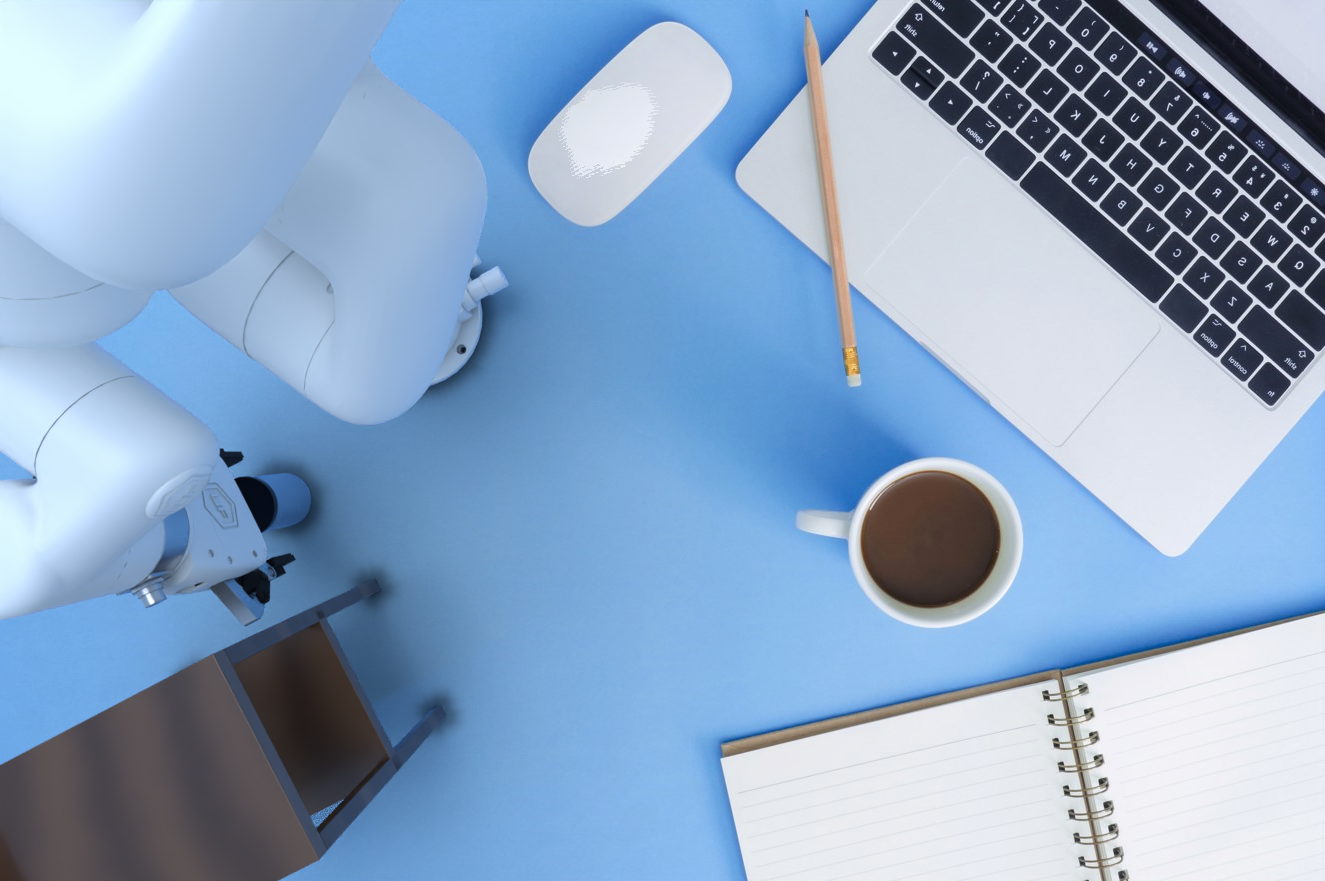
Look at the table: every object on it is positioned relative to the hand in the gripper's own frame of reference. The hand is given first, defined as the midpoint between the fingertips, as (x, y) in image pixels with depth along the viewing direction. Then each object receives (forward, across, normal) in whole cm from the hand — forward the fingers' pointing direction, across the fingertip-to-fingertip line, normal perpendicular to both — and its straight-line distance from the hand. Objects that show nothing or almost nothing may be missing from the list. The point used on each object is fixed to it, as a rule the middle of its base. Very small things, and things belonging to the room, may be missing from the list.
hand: (253, 513), depth 75 cm
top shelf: (-20, -17, +6) cm, 27 cm away
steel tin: (+4, 0, -1) cm, 5 cm away
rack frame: (+5, -16, +5) cm, 18 cm away
